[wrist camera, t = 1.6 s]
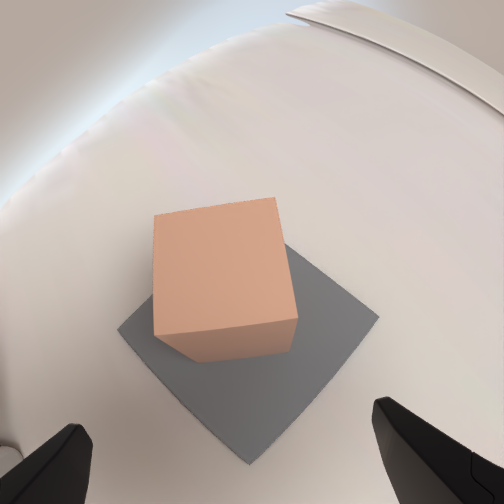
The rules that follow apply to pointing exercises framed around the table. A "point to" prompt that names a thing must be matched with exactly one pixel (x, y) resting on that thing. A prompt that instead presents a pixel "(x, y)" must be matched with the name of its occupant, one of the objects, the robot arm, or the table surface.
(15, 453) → the robot
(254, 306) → the salmon orange block
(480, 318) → the table surface
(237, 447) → the charcoal mat
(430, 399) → the table surface
